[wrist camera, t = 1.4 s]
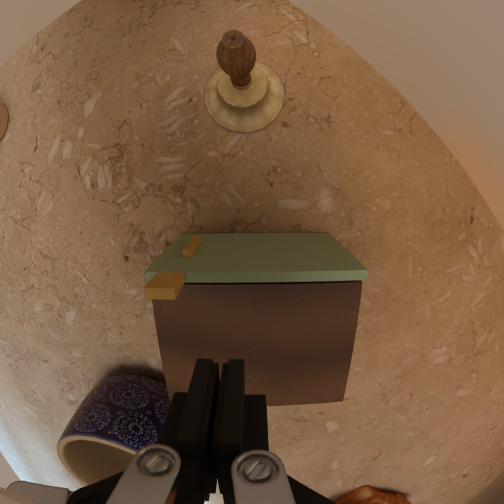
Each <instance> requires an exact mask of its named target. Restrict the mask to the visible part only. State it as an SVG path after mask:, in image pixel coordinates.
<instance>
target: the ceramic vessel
mask: <svg viewBox="0 0 504 504" xmlns="http://www.w3.org/2000/svg"><path fill="white" fill-rule="evenodd" d="M335 503H337V504H411V503H410V502H409V501H408V500H407V499H405V498H404V497H402V496H401V495H400V494H399V493H398V492H391V491H380V490H378V489H375V488H372V487H371V486H368V485H366V486H362V487H359V488H357V489H355V490H353V491H351V492H350V493H348V494H346V495H344V496H343V497H341V498H339V499H338V500H336V501H335Z"/></svg>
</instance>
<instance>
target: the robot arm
mask: <svg viewBox="0 0 504 504" xmlns="http://www.w3.org/2000/svg"><path fill="white" fill-rule="evenodd" d="M217 479H218V484H219V490H220V494H223V499H224V504H337V503H335V502H333V501H331V500H330V499H328V498H326V497H324V496H322V495H320V494H319V493H317V492H315V491H313V490H312V489H310V488H308V487H307V486H305V485H303V484H302V483H300V482H298V481H297V480H295V479H293V478H292V477H290V476H289V475H287V474H286V471H285V467H284V464H283V462H282V461H281V459H280V458H279V457H278V456H277V455H276V454H274V453H272V452H269V445H268V425H267V405H266V394H245V365H244V359H229V362H228V363H223V365H222V372H221V379H220V373H219V363H213V359H207V358H197V360H196V363H195V367H194V371H193V374H192V378H191V382H190V385H189V389H188V393H187V392H175V393H174V395H173V397H172V400H171V404H170V407H169V410H168V413H167V416H166V419H165V422H164V426H163V429H162V432H161V435H160V438H159V442H158V444H151V445H147V446H144V447H142V448H141V449H139V450H138V451H137V452H136V453H135V454H134V456H133V458H132V459H131V461H130V463H129V465H128V466H127V468H126V470H124V471H122V472H119V473H117V474H115V475H112V476H110V477H108V478H105V479H103V480H100V481H98V482H95V483H93V484H90V485H88V486H85V487H82V488H80V489H78V490H76V491H74V492H73V491H70V490H69V489H68V488H61V487H54V486H47V485H42V484H36V483H31V482H26V481H15V482H13V483H11V484H10V485H9V486H8V487H7V489H4V488H0V504H204V501H209V496H210V493H216V485H217Z"/></svg>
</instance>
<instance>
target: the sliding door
mask: <svg viewBox="0 0 504 504" xmlns="http://www.w3.org/2000/svg"><path fill="white" fill-rule="evenodd" d="M144 274H145V281H146V282H149V283H148V284H147V285H146V287H145V288H144V289H145V297H146V299H160V300H176V298H177V296H178V294H179V292H180V290H181V289H182V287H183V285H184V283H185V282H197V283H236V282H312V281H351V280H367V278H368V269H367V268H366V267H365V266H364V265H362V264H361V263H360V262H359V261H358V260H357V259H356V258H355V257H354V256H353V255H352V254H351V253H350V252H349V251H348V250H347V249H346V248H344V247H343V246H342V245H341V244H340V243H339V242H338V241H337V240H336V239H335V238H334V237H333V236H331V235H330V234H329V233H196V234H181V235H180V236H179V237H178V238H177V239H176V240H175V241H174V242H173V243H172V244H171V245H170V246H169V247H168V248H167V249H166V250H165V251H164V252H163V253H162V254H161V255H160V256H159V257H158V258H157V259H156V260H155V261H154V262H153V263H152V264H151V266H150V267H149V268H148V269H147V270H146V271H145V272H144Z"/></svg>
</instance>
